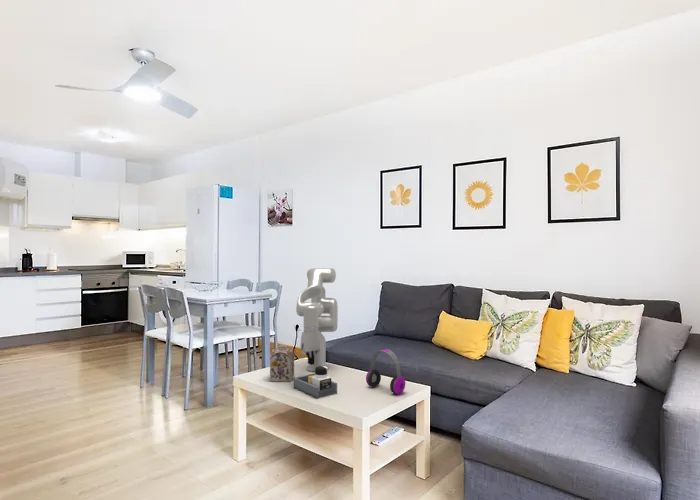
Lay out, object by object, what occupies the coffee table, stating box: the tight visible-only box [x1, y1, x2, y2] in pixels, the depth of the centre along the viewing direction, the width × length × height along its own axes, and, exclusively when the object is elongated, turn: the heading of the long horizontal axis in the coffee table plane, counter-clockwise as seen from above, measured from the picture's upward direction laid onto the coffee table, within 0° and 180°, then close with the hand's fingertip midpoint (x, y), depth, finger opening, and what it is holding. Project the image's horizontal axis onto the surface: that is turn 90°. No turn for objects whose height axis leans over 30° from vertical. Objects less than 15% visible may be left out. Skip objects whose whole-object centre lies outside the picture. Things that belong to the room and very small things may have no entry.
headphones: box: [365, 348, 407, 395], centre depth 214 cm, size 21×9×20 cm, turn 45°
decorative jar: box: [269, 344, 295, 383], centre depth 234 cm, size 12×12×18 cm
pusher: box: [308, 373, 315, 384], centre depth 214 cm, size 5×9×7 cm, turn 129°
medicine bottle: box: [311, 366, 332, 391], centre depth 209 cm, size 7×7×12 cm
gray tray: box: [292, 374, 338, 399], centre depth 213 cm, size 21×12×5 cm, turn 39°
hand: (311, 363), depth 222 cm, fingers closed
